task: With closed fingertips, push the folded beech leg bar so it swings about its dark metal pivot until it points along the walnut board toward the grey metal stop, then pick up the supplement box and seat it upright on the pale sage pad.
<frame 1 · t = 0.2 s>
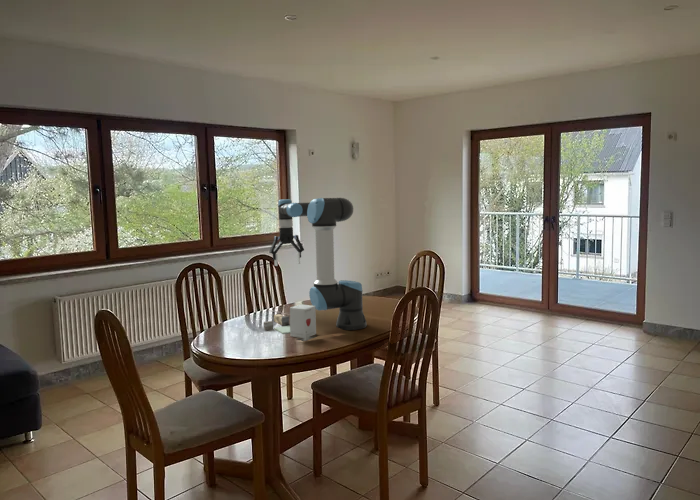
hand: (287, 264, 306), 28 cm above the table, fingers open, 13 cm apart
seat pad: (288, 332, 264), resting on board
leg bar: (281, 319, 277), point 4 cm above the table, hinge at 0.0°
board: (275, 330, 269), on the table
supplement box: (303, 338, 254), on the table
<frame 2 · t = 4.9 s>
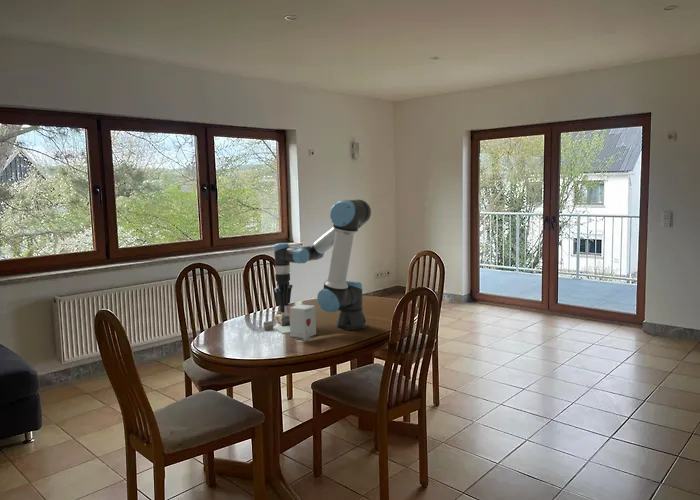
hand: (284, 318, 281), 3 cm above the table, fingers closed
leg bar: (281, 319, 277), point 4 cm above the table, hinge at 0.0°, touching gripper
everything else where it was.
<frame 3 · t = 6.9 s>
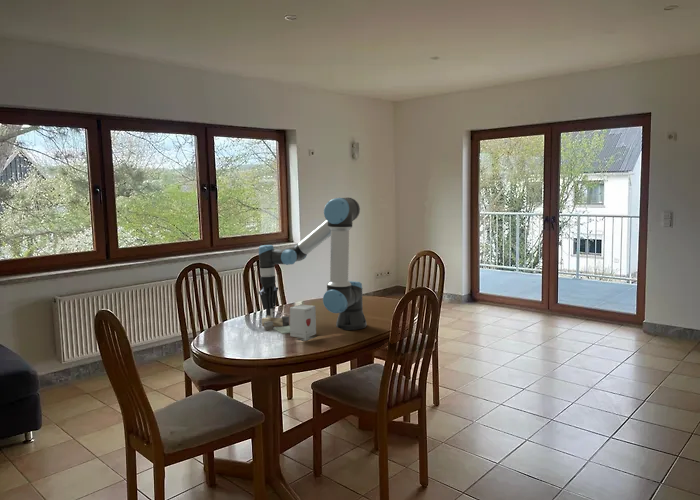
hand: (270, 321, 277), 3 cm above the table, fingers closed
leg bar: (275, 321, 273), point 4 cm above the table, hinge at 49.1°, touching gripper
everything else where it was.
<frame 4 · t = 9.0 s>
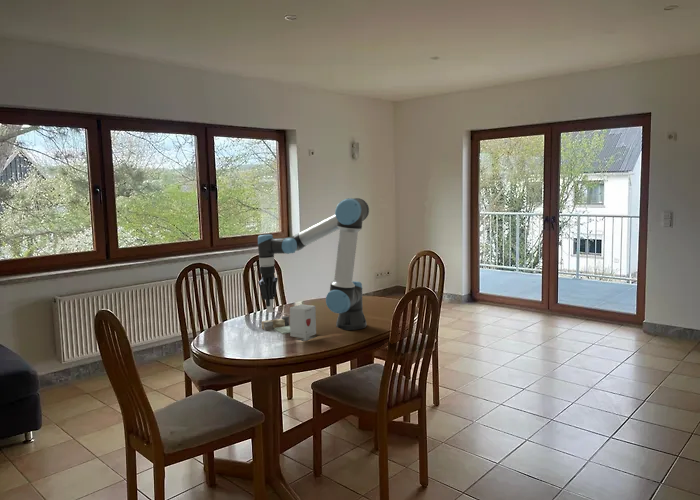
hand: (270, 312, 272), 8 cm above the table, fingers closed
leg bar: (275, 322, 270), point 4 cm above the table, hinge at 89.3°
everything else where it was.
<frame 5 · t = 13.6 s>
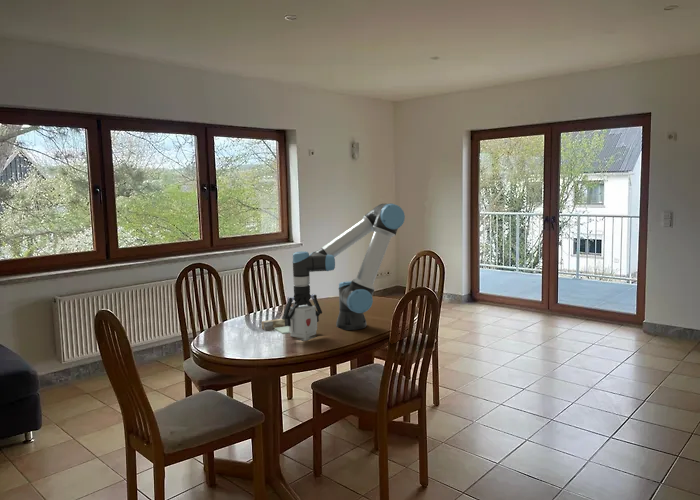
hand: (303, 331, 253), 3 cm above the table, fingers closed on supplement box, 12 cm apart
supplement box: (303, 338, 254), on the table, touching gripper
everything else where it was.
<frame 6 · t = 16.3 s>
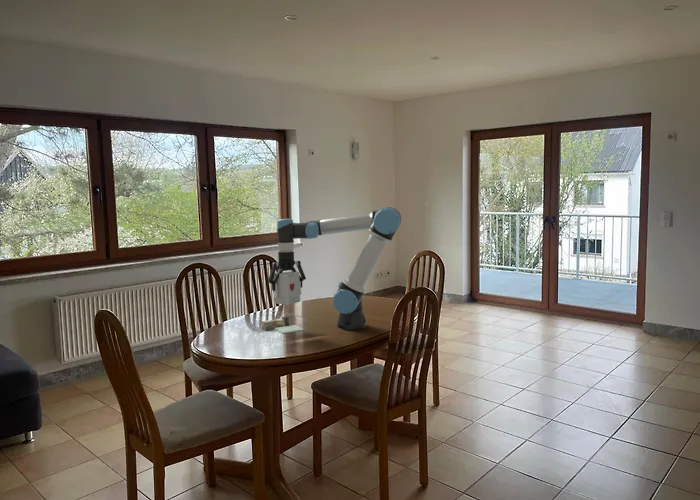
hand: (287, 295, 262), 18 cm above the table, fingers closed on supplement box, 11 cm apart
supplement box: (287, 303, 262), point 15 cm above the table, touching gripper
everything else where it was.
when the fingers open (6 cm above the table, at t = 19.1 s): supplement box stays where it is, resting on seat pad.
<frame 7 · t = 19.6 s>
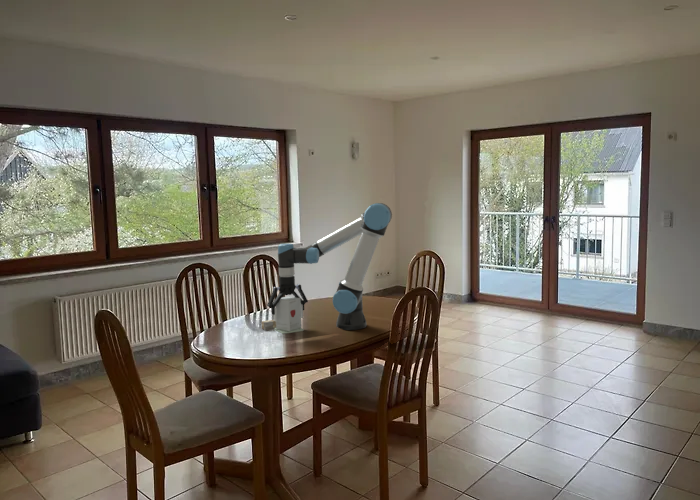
hand: (288, 319, 263), 7 cm above the table, fingers open, 13 cm apart
supplement box: (289, 328, 264), point 2 cm above the table, touching seat pad
everything else where it was.
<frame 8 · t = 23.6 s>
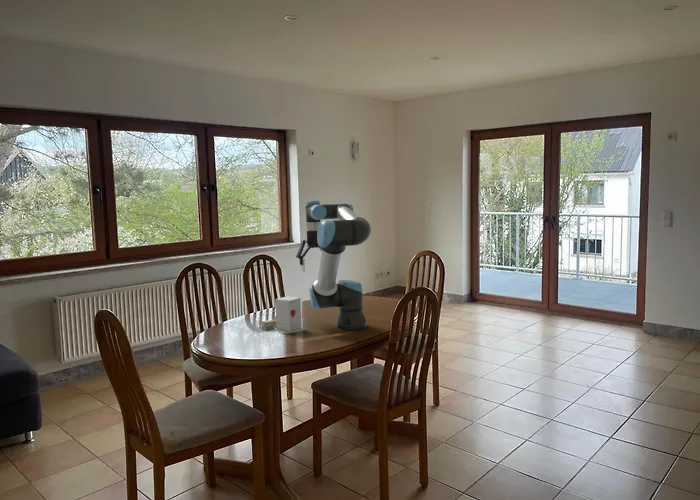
hand: (314, 270, 287), 27 cm above the table, fingers open, 13 cm apart
nothing on the table moved.
at the end: leg bar at +89° (first picture: +0°); supplement box 0.2 cm from the seat pad (horizontally); supplement box tilted 0° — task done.
